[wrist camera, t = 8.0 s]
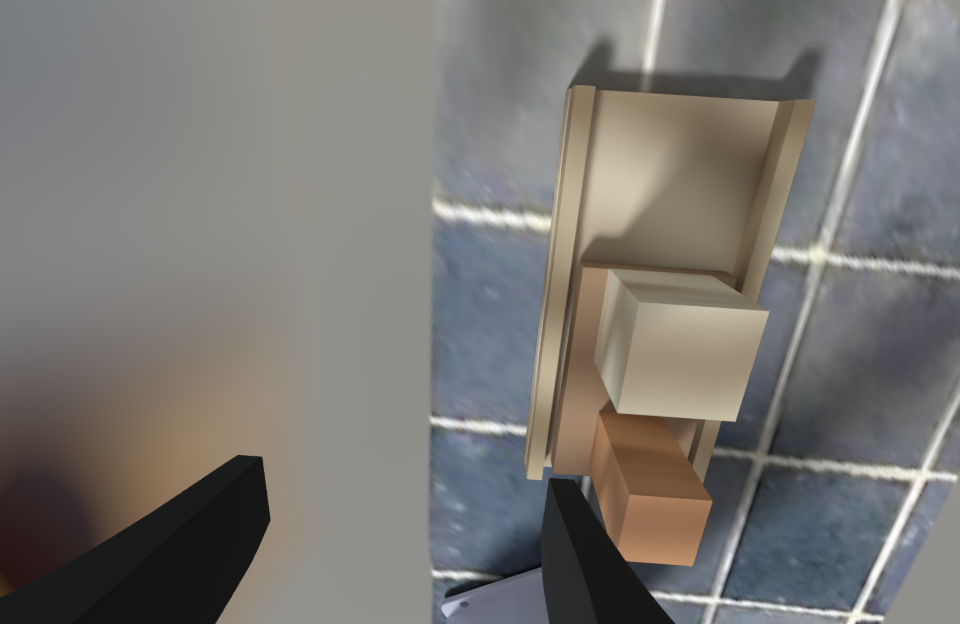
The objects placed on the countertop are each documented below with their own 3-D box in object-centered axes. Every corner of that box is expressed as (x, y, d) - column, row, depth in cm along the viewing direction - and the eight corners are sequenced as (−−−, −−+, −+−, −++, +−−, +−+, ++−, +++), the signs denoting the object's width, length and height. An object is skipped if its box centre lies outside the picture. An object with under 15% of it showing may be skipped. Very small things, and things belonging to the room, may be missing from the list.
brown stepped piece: (673, 468, 22) (733, 579, 16) (550, 459, 22) (569, 566, 16) (724, 271, 18) (824, 327, 13) (578, 261, 19) (614, 312, 13)
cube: (688, 366, 19) (735, 421, 15) (593, 359, 19) (617, 413, 15) (711, 275, 18) (769, 311, 14) (608, 268, 18) (639, 302, 14)
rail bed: (686, 466, 23) (701, 491, 21) (523, 454, 23) (525, 478, 22) (786, 104, 17) (817, 100, 15) (566, 90, 17) (574, 84, 16)
